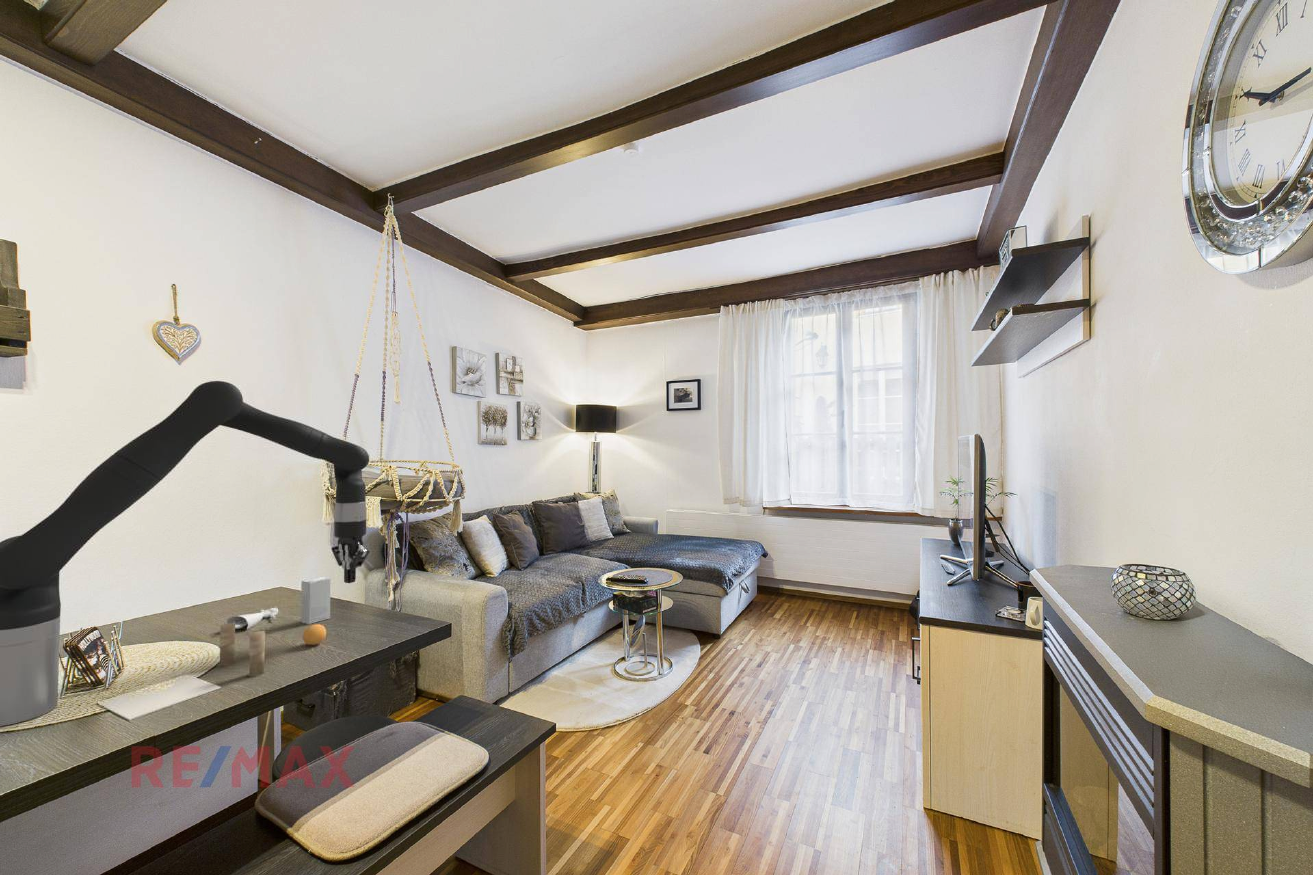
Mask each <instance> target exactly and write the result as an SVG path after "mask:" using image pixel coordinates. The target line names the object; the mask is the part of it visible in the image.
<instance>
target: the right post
mask: <svg viewBox="0 0 1313 875" xmlns="http://www.w3.org/2000/svg"><path fill="white" fill-rule="evenodd" d="M265 640H266V631H265V630H257V631H254V632H251V633H250V634H249V663H248V664H249V669H248V673H249V674H248V676H249V677H252V678H253V677H258V676H261V675H263V674H264V673H265V651H266V650H265V649H266V647H265V645H266V644H265V642H266V641H265Z"/></svg>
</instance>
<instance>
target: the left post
mask: <svg viewBox="0 0 1313 875" xmlns="http://www.w3.org/2000/svg"><path fill="white" fill-rule="evenodd" d="M235 646H236V629H235V623H227V624H224V623H223V624H221V625H220V639H219V667H228V666H231V665H233V664H235V656H236V654H235V652H236V651H235V649H236V648H235Z"/></svg>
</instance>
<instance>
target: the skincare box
mask: <svg viewBox="0 0 1313 875" xmlns="http://www.w3.org/2000/svg"><path fill="white" fill-rule="evenodd" d="M300 588H301V589H300V590H301V592H300V594H301V595H300V596H301V599H300V600H301V601H300V603H301V604H300V605H301V606H300V622H301V623H303V624H305V623H306V625H313V624H315V623H316V624H317V623H319V622H323V621H326V620H329V619H331V578H330V577H327V576H319V577H316V578H315V577H314V578H309V579H306V580H305V579H304V580H301V587H300ZM318 621H319V622H318Z"/></svg>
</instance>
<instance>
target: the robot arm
mask: <svg viewBox="0 0 1313 875" xmlns="http://www.w3.org/2000/svg"><path fill="white" fill-rule="evenodd" d="M220 426H223V427H226V428H231V429H234V430H237V431H240V432H244V433H247V434H251V435H254V436H257V437H260V438H262V439H265V440H268V441H270V442H273V443H275V444H277V445H280V446H282V447H285V448H287V449H290V450H292V451H294V452H297V453H300V454H303V455H304V456H308V457H310V458H314V459H317V460H322V461H325V462H328V463H330V464H332V465H333V471H334V479H335V484H336V486H335V487H336V488H335V506H334V515H333V517H334V518H333V519H334V521H333V522H334V523H333V524H334V525H333V531H334V532H333V536H334V537H335V538H338V539H337V545H335V546H331V552H332V554H333V557H334V558H335V561H336V563H337V565H338V566H339V567H341V568H342V570H343V582H344V583H345V584H352V583H355V581H356V578H357V576H356V575H357V573H356V572H357V568H358V567H362V566H363V564H364V562H365V561H366V559H367V557H368V555H369V554H370V549H369V548H365V547H364V540H363V537H364V536H365V535H366V534H367V510H368V509H367V504H366V503H367V502H366V497H367V496H366V495H367V494H366V493H367V491H366V490H367V488H366V483H365V482H364V480H363V474H362V473H363V472H362V470H364V469H365V468H366V467H367V466H368V465H369V461H370V455H369V453H368V452H367V450H366V449H365V448H363V447H361V446H359V445H357V444H354V443H353V442H349V441H347V440H343V439H341V438H337V437H334V436H332V435H329V433H326V432H324V431H321V430H319V429H316V428H314V427H312V426H310V425H307V424H304V423H302V422H298V421H295V420H292V419H289V418H284V417H282V416H278V415H275V414H271V413H269V412H266V411H263V410H261V409H259V408H256V407H255V406H252V405H250V404H249V403H246V402H244V397H243V395H242V392H241V390H240V389H239V388H238V387H237V386H236V385H234V384H232V383H231V382H228V381H223V380H221V381H220V380H210V381H206V382H204V383H201V384H199V385H197V386H196V387H195V388H194V389H193V390H192V391H191V393H190V394H189V396H187V398H185V399H184V400H183V401H182V402H181V403H180V405H178V406H177V408H176V409H175V410H174V411H172V412H171V413H170V414H169V415H168V416H166V418H164V419H163V420H162V421H160V422H158V423H157V424H156V425H154V426H153V427H152V426H151V427H150V429H149V428H148V430H146V431H145V432H142V433H141V434H140V435H139V436H137V437H135V438H134V439H133V440H131V441H130V442H128V443H127V444H125V445H124V446H122V447H121V448H120V449H118V450H117V451H115V452H114V453H113V454H111V455H110V456H109V457H108V458H107V459H105V460H104V461H103V462H102V463H101V464H99V465H98V466H97V467H96V468H94V470H92V471H91V472H90V473H89V474H88V475H87V476H85V478H84V479H83V480H82V481H81V482H80V483H79V484H78V486H76V487H75V489H74V490H73V491H72V492H71V493H70V495H69V496H68V497H67V498H66V499H65V500H64V502H62V503H61V505H59V507H58V508H56V509H55V510H54V511H53V512H51V514H49V515H48V516H47V517H45V518H44V519H43V520H41V521H40V522H38V523H37V524H35V525H34V526H33V527H32V528H30V529H29V530H27V531H26V532H24V533H22V534H21V535H16V536H13V537H8V538H7V539H4V540H1V541H0V727H4V726H10V725H13V724H17V723H21V722H22V723H23V722H25V721H29V720H32V719H34V718H37V717H41V716H43V715H45V714H47V713H49V712H51V711H52V710H54V709H56V708H57V707H58V701H59V675H60V674H59V672H60V671H59V667H60V665H59V664H60V643H61V642H60V639H61V637H60V636H61V635H60V634H61V610H62V608H61V606H62V605H61V604H62V602H61V595H60V572H61V570H62V569H63V568H64V567H65V566H66V565H67V564H68V563H69V562H70V561H71V560H72V559H73V557H75V555H76V554H77V553H78V552H79V551H80V550H81V549H82V548H83V547H84V546H85V545H86V544H87V543H88V542H89V541H90V540H91V539H92V538H93V537H94V536H95V535H96V534H97V533H98V532H99V531H100V530H101V529H104V527H106V526H107V525H108V524H109V523H111V522H112V521H113V520H115V519H116V518H117V517H119V516H120V515H122V514H123V513H124V512H125V511H127V510H128V509H129V508H130V507H131V506H133V505H134V504H135V503H136V502H138V501H139V500H140V499H142V498H143V497H144V496H145V495H147V494H148V493H149V492H150V491H151V490H152V489H153V488H155V487H156V486H157V485H158V484H159V483H160V482H161V481H163V480H164V478H165V477H167V476H168V475H169V473H171V472H172V470H174V468H176V467H177V465H179V463H180V462H181V461H182V460H183V459H184V458H185V457H186V456H187V454H189V452H190V451H191V450H192V449H193V448H194V447H195V446H196V445H197V444H198V443H199V442H200V441H201V440H202V439H203V438H205V437H206V436H207V435H209V434H210V433H212V431H214V430H216V428H218V427H220Z"/></svg>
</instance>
